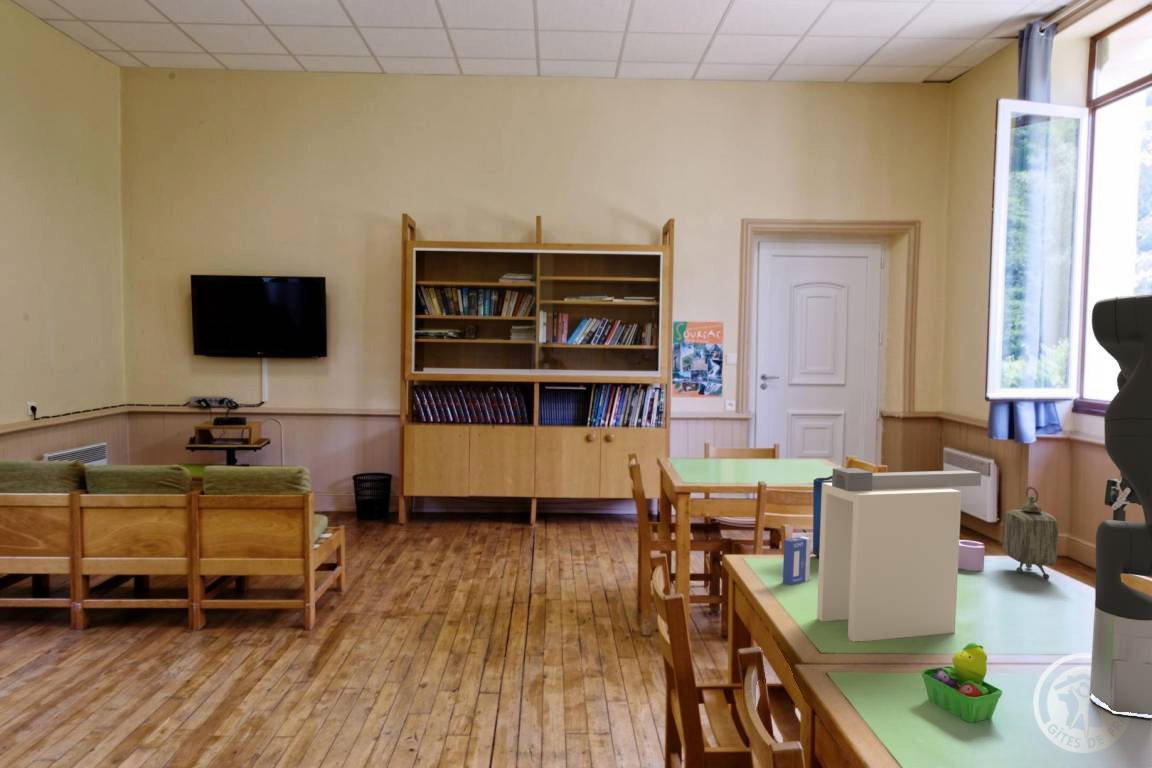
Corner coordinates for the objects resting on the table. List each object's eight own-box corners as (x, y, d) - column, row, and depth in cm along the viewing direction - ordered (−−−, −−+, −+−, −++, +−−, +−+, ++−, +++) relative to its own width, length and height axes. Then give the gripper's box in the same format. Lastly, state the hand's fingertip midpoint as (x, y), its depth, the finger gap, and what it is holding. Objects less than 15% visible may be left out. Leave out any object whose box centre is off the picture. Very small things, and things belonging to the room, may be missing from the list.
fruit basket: (916, 697, 134) (919, 636, 133) (953, 690, 137) (956, 631, 137) (970, 728, 123) (973, 662, 123) (1008, 720, 126) (1012, 655, 126)
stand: (912, 610, 179) (917, 480, 177) (954, 632, 165) (961, 491, 164) (816, 618, 172) (821, 482, 171) (853, 641, 159) (859, 494, 157)
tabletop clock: (1056, 582, 204) (1060, 492, 202) (1020, 580, 205) (1025, 491, 204) (1032, 567, 218) (1036, 483, 217) (999, 564, 219) (1003, 481, 218)
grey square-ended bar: (965, 481, 176) (965, 465, 176) (984, 486, 170) (985, 469, 170) (832, 486, 167) (832, 468, 167) (848, 491, 161) (848, 473, 161)
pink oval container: (980, 563, 222) (981, 540, 221) (985, 574, 210) (986, 550, 210) (908, 554, 230) (908, 532, 229) (908, 564, 218) (909, 541, 218)
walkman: (790, 585, 197) (792, 540, 196) (782, 582, 199) (784, 538, 198) (810, 580, 201) (811, 537, 200) (802, 577, 203) (803, 534, 203)
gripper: (1190, 463, 155) (1185, 539, 156) (1124, 452, 168) (1120, 523, 169) (1162, 464, 153) (1157, 541, 154) (1098, 453, 166) (1094, 524, 167)
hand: (1138, 531), depth 161 cm, fingers open, 8 cm apart
